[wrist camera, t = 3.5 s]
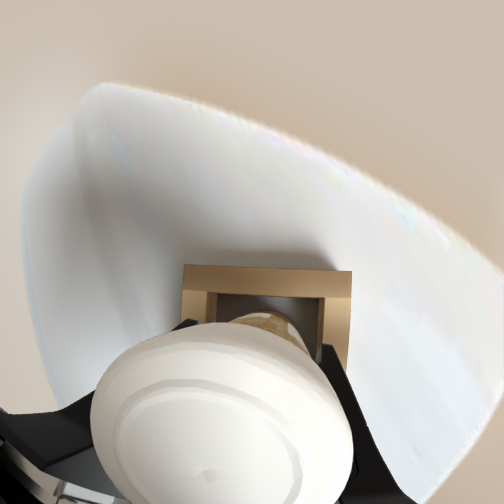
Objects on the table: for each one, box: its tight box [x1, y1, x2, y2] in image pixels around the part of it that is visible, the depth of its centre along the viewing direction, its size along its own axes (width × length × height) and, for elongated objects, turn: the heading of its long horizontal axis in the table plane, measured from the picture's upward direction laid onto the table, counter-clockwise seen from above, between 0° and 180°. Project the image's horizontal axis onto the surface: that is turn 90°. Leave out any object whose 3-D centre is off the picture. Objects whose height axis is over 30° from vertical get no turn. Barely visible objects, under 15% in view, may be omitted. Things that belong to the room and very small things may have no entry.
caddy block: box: [180, 264, 352, 373], centre depth 15 cm, size 9×9×2 cm
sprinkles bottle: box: [90, 310, 353, 504], centre depth 10 cm, size 5×5×14 cm
